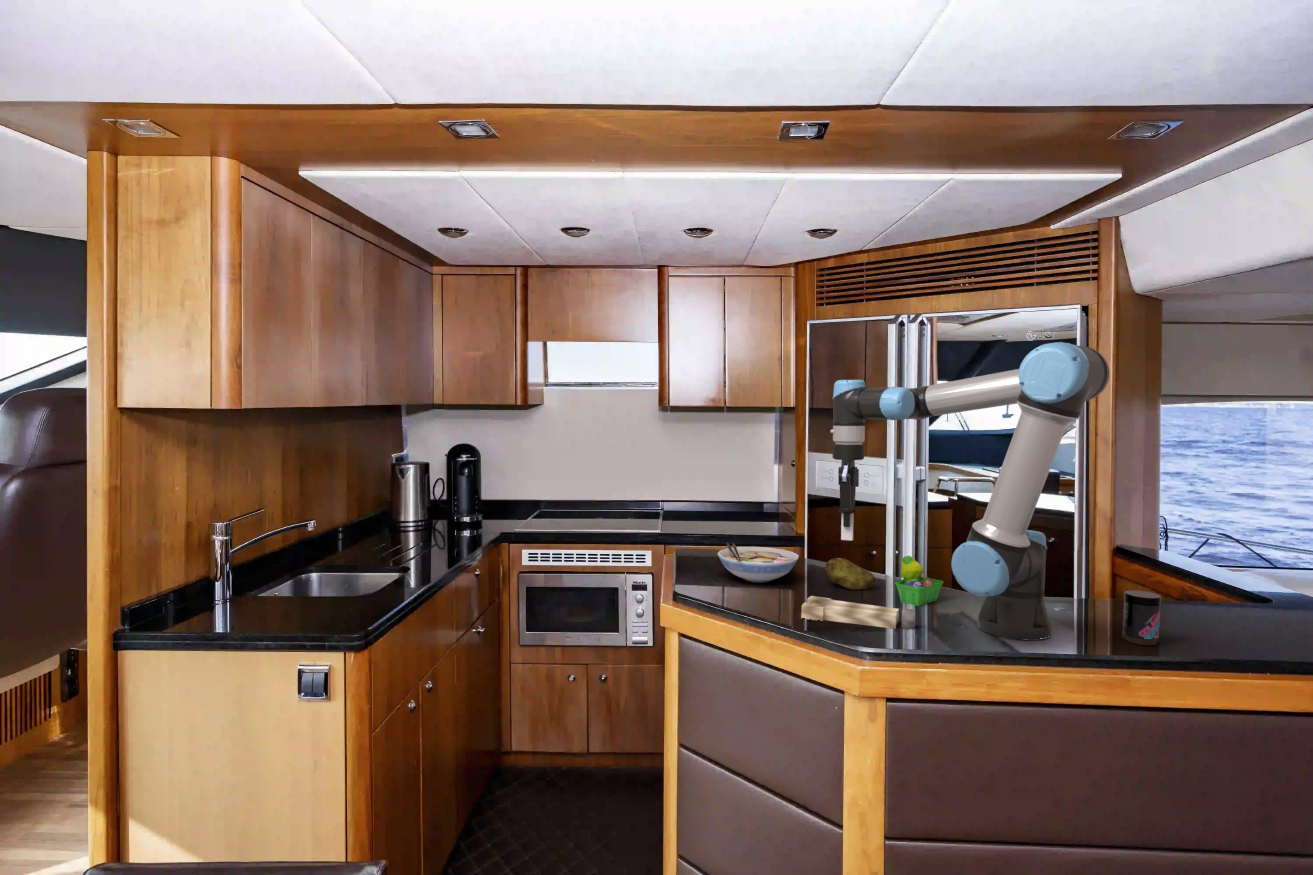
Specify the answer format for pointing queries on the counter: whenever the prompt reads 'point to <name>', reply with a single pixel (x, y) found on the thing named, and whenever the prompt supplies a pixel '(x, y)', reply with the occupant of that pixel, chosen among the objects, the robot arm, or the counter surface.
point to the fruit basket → (916, 584)
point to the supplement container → (1141, 614)
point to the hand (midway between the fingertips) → (847, 539)
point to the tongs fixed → (857, 616)
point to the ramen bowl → (757, 562)
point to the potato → (849, 574)
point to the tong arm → (851, 605)
